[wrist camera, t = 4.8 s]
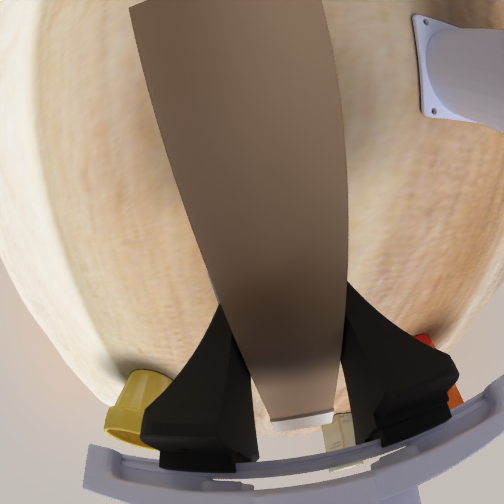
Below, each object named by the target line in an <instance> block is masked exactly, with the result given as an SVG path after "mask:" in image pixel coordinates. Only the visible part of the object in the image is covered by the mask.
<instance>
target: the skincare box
mask: <svg viewBox="0 0 504 504" xmlns="http://www.w3.org/2000/svg"><path fill="white" fill-rule="evenodd" d="M322 431H323V437H324V442H325V448H326V452H331V451H335V450H340V449H344V448H348V447H352V446H356V444H355V435H354V428H353V420H352V414H351V413H344V414H336V415H335V416H333V419H332V423H328V424H324V425H322ZM360 464H363V460H362V461H358V462H354V463H350V464H346V465H342V466H338V467H333V468H329V472H335V471H340V470H345V469H348V468H351V467H354V466H357V465H360Z"/></svg>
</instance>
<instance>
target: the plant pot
mask: <svg viewBox="0 0 504 504" xmlns="http://www.w3.org/2000/svg"><path fill="white" fill-rule="evenodd" d="M171 382H172V380H171V379H170V378H168V377H167V376H165V375H163V374H160V373H157V372H154V371H149V370H136V371H133V372H132V373H131V374H130V376H129V378H128V380H127V382H126V384H125V386H124V388H123V390H122V392H121V394H120V396H119V398H118V400H117V402H116V404H115V406H113V407H110V408H109V410H108V413H107V416H106V420H105V426H104V431H105V432H106V433H107V434H108V435H109V436H111V437H113V438H115V439H117V440H119V441H122V442H125V443H127V444H130V445H133V446H136V447H140V448H145V449H149V450H155V451H158V450H156V449H154V448H152V447H150V446H148V445H146V444H145V443H143V442H142V441H141V439H140V431H141V424H142V418H143V414H144V411H145V408H146V407H148V406H149V405H150V404H151V403H152V402H153V401H154V400H155V399H156V398H157V397H158V396H159V395H160V394H161V393H162V392H163V391H164V390H165V389H166V388H167V387H168V386H169V385H170V383H171Z"/></svg>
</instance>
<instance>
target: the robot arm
mask: <svg viewBox="0 0 504 504" xmlns="http://www.w3.org/2000/svg"><path fill="white" fill-rule="evenodd" d="M412 20H413V26H414V31H415V38H416V45H417V52H418V61H419V72H420V86H421V111H422V114H423V115H424V116H427V117H431V118H442V119H451V120H459V121H466V122H473V123H479V124H482V125H485V126H487V127H489V128H492V129H494V130H496V131H499V132H501V133H503V134H504V30H498V29H478V28H458V27H455V26H453V25H450V24H447V23H444V22H441V21H438V20H435V19H432V18H429V17H425V16H422V15H414V16H413V17H412ZM423 20H424V21H425V23H426V25H425V24H424V22H423ZM432 109H433V110H434V112H433V113H432ZM340 361H341V364H342V368H343V372H344V377H345V382H346V386H347V391H348V397H349V402H350V408H351V414H352V420H353V428H354V435H355V444H356V446H352V447H348V448H344V449H340V450H335V451H331V452H326V453H321V454H316V455H311V456H304V457H298V458H291V459H283V460H274V461H264V462H256V461H257V460H258V459H259V452H258V445H257V437H256V429H255V421H254V411H253V401H252V390H251V374H250V372H249V370H248V368H247V365H246V363H245V361H244V359H243V356H242V354H241V352H240V349H239V347H238V345H237V342H236V340H235V338H234V335H233V333H232V330H231V328H230V326H229V323H228V321H227V318H226V316H225V313H224V311H223V309H222V306H221V304H220V303H219V305H218V308H217V310H216V312H215V314H214V317H213V319H212V321H211V323H210V325H209V327H208V329H207V331H206V333H205V335H204V337H203V339H202V340H201V342H200V344H199V346H198V347H197V349H196V350H195V352H194V353H193V355H192V357H191V358H190V359H189V361H188V362H187V364H186V365H185V366H184V368H183V369H182V370H181V372H180V373H179V374H178V375H177V377H176V378H175V379H174V380H173V381H172V382H171V383H170V385H169V386H168V387H167V388H166V389H165V390H164V391H163V392H162V393H161V394H160V395H159V396H158V397H157V398H156V399H155V400H154V401H153V402H152V403H151V404H150V405H149V406H148V407H146V408H145V411H144V414H143V418H142V424H141V431H140V439H141V441H142V442H143V443H145V444H146V445H148V446H150V447H152V448H154V449H156V450H158V451H160V459H159V460H156V459H148V458H142V457H135V456H129V455H124V454H120V453H119V452H117V451H115V450H113V449H109V448H106V447H101V446H97V445H93V444H90V445H89V448H88V454H87V460H86V467H85V473H84V480H83V481H84V482H83V488H84V489H86V490H88V491H91V492H94V493H97V494H99V495H102V496H105V497H108V498H111V499H114V500H117V501H120V502H123V503H127V504H421V502H420V496H419V492H418V485H420V484H422V483H424V482H426V481H428V480H430V479H432V478H434V477H436V476H438V475H440V474H442V473H443V472H445V471H447V470H449V469H450V468H452V467H454V466H456V465H457V464H459V463H461V462H462V461H464V460H466V459H467V458H469V457H470V456H472V455H473V454H475V453H476V452H478V451H479V450H480V449H482V448H484V447H485V446H486V445H488V444H489V443H490V442H492V441H493V440H494V439H496V438H497V437H498V436H500V435H501V434H502V433H503V432H504V375H502V376H501V377H500V378H498V379H497V380H495V381H493V382H492V383H491V384H490V385H489V386H487V387H486V388H485V390H484V391H483V392H482V393H480V394H478V395H477V396H475V397H473V398H471V399H470V400H468V401H466V402H464V403H462V404H460V405H459V406H457V407H455V408H453V409H451V410H450V409H449V406H448V403H447V402H448V401H449V396H448V394H447V392H448V391H449V390H450V389H451V387H452V386H453V385H454V384H455V383H456V381H457V380H458V378H459V372H458V370H457V368H456V366H455V364H454V362H453V360H452V359H451V357H450V355H448V354H446V353H444V352H442V351H439V350H437V349H435V348H433V347H431V346H429V345H427V344H425V343H423V342H421V341H419V340H418V339H416V338H414V337H413V336H411V335H410V334H408V333H407V332H405V331H403V330H402V329H400V328H399V327H398V326H396V325H395V324H393V323H392V322H391V321H389V320H388V319H387V318H386V317H384V316H383V315H382V314H381V313H379V312H378V311H377V310H376V309H375V308H374V307H373V306H372V305H370V304H369V303H368V302H367V301H366V300H365V299H364V298H363V297H362V296H361V295H360V294H359V293H358V292H357V291H356V290H355V289H354V288H353V287H352V286H351V285H350V283H349V282H348V281H347V291H346V306H345V319H344V330H343V339H342V349H341V357H340ZM404 446H406V447H405V448H402V449H400V450H398V451H396V452H393V453H391V454H388V455H386V456H383V457H381V458H380V459H379V461H377V462H375V463H373V464H372V465H371V470H370V471H366V472H363V473H359V474H355V475H351V476H347V477H343V478H338V479H333V480H329V481H323V482H318V483H312V484H306V485H299V486H292V487H284V488H275V489H264V490H254V486H253V485H250V484H243V483H241V482H233V481H215V480H213V479H248V478H265V477H276V476H286V475H293V474H301V473H307V472H313V471H319V470H324V469H329V468H333V467H338V466H342V465H346V464H350V463H354V462H358V461H362V460H365V459H368V458H372V457H375V456H378V455H381V454H384V453H387V452H390V451H393V450H396V449H399V448H401V447H404Z"/></svg>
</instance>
